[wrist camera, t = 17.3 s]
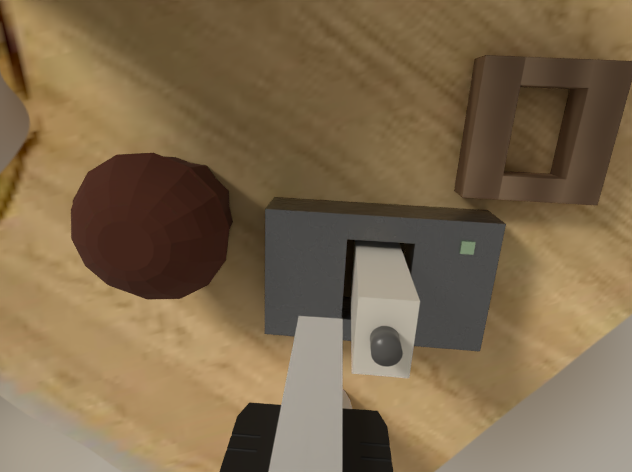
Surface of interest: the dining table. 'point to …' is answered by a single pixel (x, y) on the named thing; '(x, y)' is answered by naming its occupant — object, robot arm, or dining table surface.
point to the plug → (382, 310)
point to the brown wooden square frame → (575, 135)
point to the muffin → (152, 225)
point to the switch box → (387, 226)
